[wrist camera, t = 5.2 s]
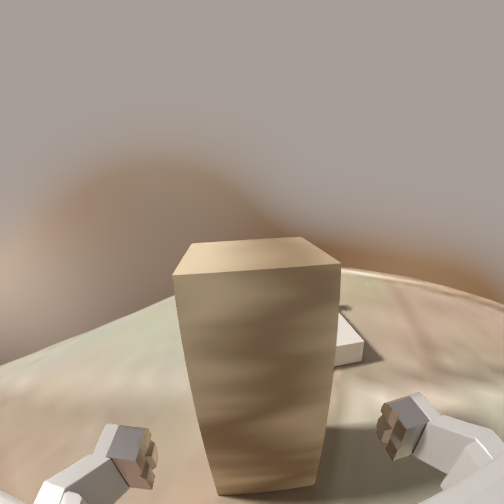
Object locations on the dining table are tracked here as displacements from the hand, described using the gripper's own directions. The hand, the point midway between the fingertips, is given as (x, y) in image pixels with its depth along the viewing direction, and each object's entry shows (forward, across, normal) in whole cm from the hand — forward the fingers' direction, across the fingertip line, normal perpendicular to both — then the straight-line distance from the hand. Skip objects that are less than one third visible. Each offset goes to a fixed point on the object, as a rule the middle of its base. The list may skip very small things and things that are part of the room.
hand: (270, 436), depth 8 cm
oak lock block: (+4, 0, +6) cm, 8 cm away
